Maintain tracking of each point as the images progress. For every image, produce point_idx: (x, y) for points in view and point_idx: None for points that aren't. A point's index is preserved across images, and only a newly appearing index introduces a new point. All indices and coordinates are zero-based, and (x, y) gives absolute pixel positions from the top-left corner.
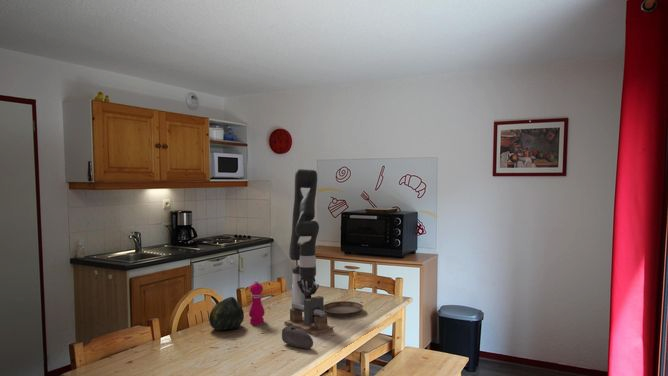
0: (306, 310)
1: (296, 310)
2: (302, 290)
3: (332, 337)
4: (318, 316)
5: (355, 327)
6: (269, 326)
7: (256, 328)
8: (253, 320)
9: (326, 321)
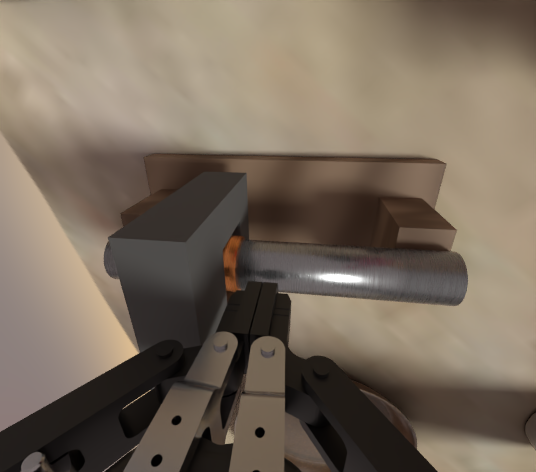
0: (187, 199)
1: (393, 246)
2: (314, 387)
3: (101, 196)
4: None
5: None
6: (516, 57)
7: None
8: None
9: None
